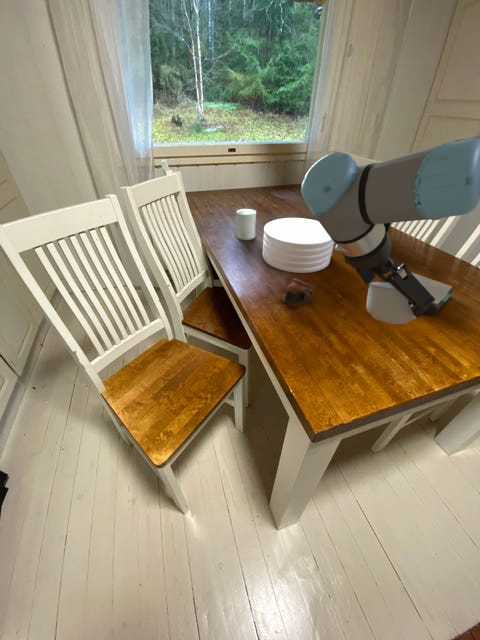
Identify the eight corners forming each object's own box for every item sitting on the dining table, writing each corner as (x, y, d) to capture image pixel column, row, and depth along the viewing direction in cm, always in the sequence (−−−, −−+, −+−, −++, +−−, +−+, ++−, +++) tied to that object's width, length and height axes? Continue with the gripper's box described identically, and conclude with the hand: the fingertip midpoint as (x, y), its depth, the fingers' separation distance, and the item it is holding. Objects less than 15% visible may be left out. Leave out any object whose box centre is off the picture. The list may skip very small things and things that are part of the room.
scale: (450, 297, 91) (456, 287, 89) (434, 317, 83) (441, 306, 80) (401, 278, 101) (405, 269, 98) (382, 295, 92) (386, 285, 89)
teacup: (427, 330, 55) (439, 291, 53) (373, 323, 55) (383, 284, 53) (392, 314, 69) (401, 283, 67) (349, 309, 69) (357, 277, 67)
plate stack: (296, 238, 130) (300, 213, 122) (344, 260, 112) (351, 233, 104) (249, 252, 117) (250, 225, 110) (294, 280, 99) (298, 250, 92)
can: (233, 234, 133) (233, 208, 125) (250, 231, 136) (250, 206, 129) (241, 241, 126) (241, 214, 119) (258, 238, 130) (260, 212, 122)
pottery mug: (275, 297, 91) (285, 274, 89) (297, 304, 95) (307, 282, 93) (293, 309, 81) (304, 283, 79) (317, 317, 85) (328, 292, 83)
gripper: (303, 231, 56) (343, 280, 70) (406, 293, 38) (432, 342, 52) (330, 201, 54) (365, 258, 68) (451, 251, 36) (464, 314, 50)
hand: (394, 295), depth 60 cm, fingers closed on teacup, 13 cm apart
